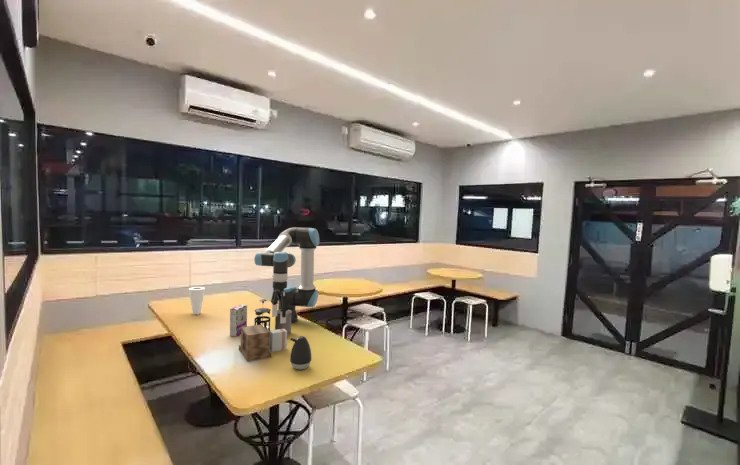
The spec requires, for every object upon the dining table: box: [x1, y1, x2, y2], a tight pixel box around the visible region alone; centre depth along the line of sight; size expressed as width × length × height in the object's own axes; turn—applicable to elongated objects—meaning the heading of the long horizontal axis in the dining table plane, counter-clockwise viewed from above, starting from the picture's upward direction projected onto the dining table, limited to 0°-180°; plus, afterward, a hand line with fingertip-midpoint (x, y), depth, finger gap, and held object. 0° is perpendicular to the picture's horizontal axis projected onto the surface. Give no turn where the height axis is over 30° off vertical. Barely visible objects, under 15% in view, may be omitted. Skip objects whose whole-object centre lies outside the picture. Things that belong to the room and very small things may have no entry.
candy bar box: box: [229, 304, 248, 337], centre depth 213 cm, size 11×5×16 cm, turn 168°
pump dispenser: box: [289, 335, 312, 371], centre depth 170 cm, size 10×10×15 cm
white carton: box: [270, 329, 288, 353], centre depth 192 cm, size 8×5×10 cm, turn 123°
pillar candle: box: [274, 309, 292, 336], centre depth 217 cm, size 10×10×15 cm
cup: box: [188, 286, 206, 315], centre depth 249 cm, size 11×11×18 cm
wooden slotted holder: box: [238, 324, 272, 362], centre depth 185 cm, size 13×18×12 cm
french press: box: [253, 298, 272, 332], centre depth 207 cm, size 12×9×23 cm
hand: (278, 319), depth 191 cm, fingers open, 13 cm apart
